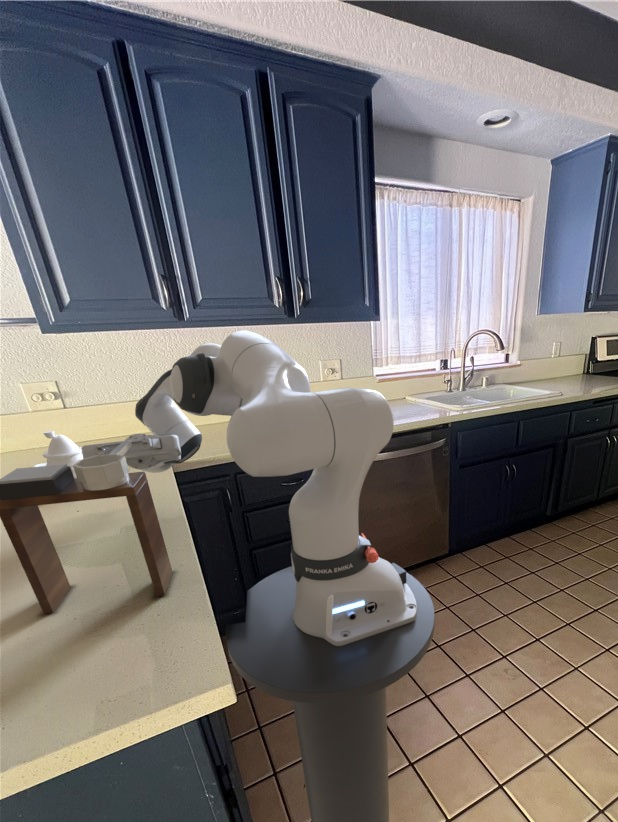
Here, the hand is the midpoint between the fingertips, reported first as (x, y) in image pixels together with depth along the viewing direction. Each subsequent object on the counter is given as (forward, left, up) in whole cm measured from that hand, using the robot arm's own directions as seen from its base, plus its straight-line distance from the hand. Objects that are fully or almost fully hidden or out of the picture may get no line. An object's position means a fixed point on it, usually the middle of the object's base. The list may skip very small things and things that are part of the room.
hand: (122, 444), depth 93 cm
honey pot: (+29, -41, -23) cm, 55 cm away
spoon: (+32, -62, -23) cm, 73 cm away
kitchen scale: (+6, +24, 0) cm, 25 cm away
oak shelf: (+1, +23, -22) cm, 32 cm away
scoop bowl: (-4, +18, 0) cm, 18 cm away
